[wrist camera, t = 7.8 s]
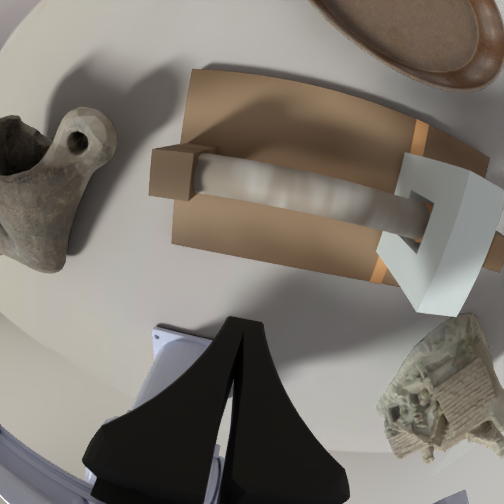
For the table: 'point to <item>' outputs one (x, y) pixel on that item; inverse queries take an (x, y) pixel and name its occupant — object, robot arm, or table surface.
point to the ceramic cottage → (445, 393)
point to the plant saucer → (426, 37)
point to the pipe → (47, 183)
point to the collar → (442, 234)
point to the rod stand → (298, 175)
